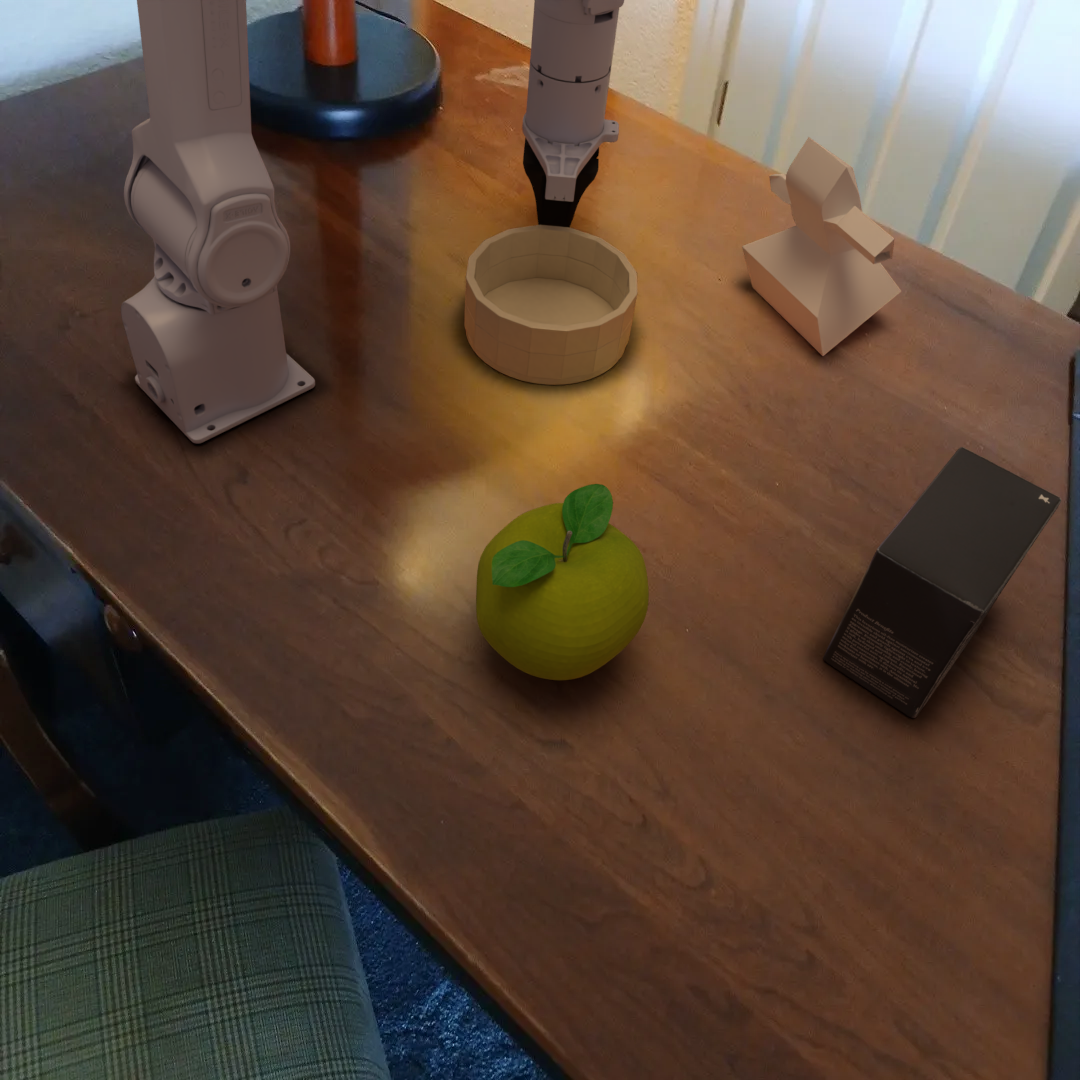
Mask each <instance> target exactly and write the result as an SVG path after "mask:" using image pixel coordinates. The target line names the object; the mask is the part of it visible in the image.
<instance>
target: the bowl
mask: <svg viewBox="0 0 1080 1080" xmlns="http://www.w3.org/2000/svg"><path fill="white" fill-rule="evenodd" d="M464 293H465V294H464V301H465V302H464V322H463V323H464V324H463V325H464V330H465V331H464V332H465V336H466V339H467V341H468V344H469V345H470V347H471V349H472V350H473V352H474V353H475V354H476V355H477V356H478V358H479V359H481V360H482V361H483V362H484V363H485V364H486V365H488V366H489V367H490V368H491V369H494V370H496V371H497V372H499V373H501V374H503V375H505V376H508V377H510V378H512V379H516V380H519V381H521V382H526V383H531V384H538V385H548V386H549V385H550V386H562V385H563V386H564V385H571V384H577V383H581V382H585V381H589V380H591V379H595V378H597V377H599V376H601V375H603V374H604V373H606V372H607V371H609V370H610V369H612V368H613V367H614V366H615V365H616V364H617V363H618V362H619V360H620V359H621V358H622V357H623V355H624V353H625V351H626V349H627V345H628V344H629V341H630V336H631V331H632V326H633V320H634V315H635V311H636V310H635V309H636V305H637V304H636V303H637V298H638V273H637V271H636V269H635V268H634V266H633V264H632V263H631V262H630V260H629V258H628V257H627V256H626V254H625V253H624V252H622V251H621V250H620V249H618V248H617V247H616V246H614V245H613V244H611V243H610V242H608V241H606V240H605V239H604V238H602V237H600V236H597V235H595V234H592V233H588V232H585V231H583V230H580V229H577V228H574V227H571V226H570V227H559V226H549V225H538V224H534V225H528V226H520V227H513V228H508V229H505V230H503V231H501V232H499V233H496V234H495V235H492V236H490V237H488V238H485V239H484V240H483V241H482V242H481V243H480V244H479V245H478V246H477V247H476V248H475V250H474V251H473V252H472V253H471V254H470V255H469V257H468V260H467V266H466V274H465V289H464Z"/></svg>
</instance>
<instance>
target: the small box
mask: <svg viewBox="0 0 1080 1080" xmlns="http://www.w3.org/2000/svg"><path fill="white" fill-rule="evenodd" d="M1061 503H1062V498H1061V497H1060V496H1059V495H1057V494H1055V493H1052V492H1050V491H1048V489H1045V488H1043V487H1041V486H1039V485H1036V484H1035V483H1033V482H1031V481H1029V480H1027V479H1026V478H1024V477H1022V476H1020V475H1018V474H1016V473H1014V472H1012V471H1010V470H1008V469H1006V468H1005V467H1002V466H1000V465H998V464H996V463H995V462H993V461H991V460H989V459H987V458H986V457H983V456H982V455H979V454H977V453H975V452H974V451H972V450H970V449H968V448H966V447H964V446H960V447H959V448H958V449H956V451H955V452H954V453H953V454H952V456H951V457H950V458H949V460H947V462H946V463H945V465H944V466H943V467H942V468H941V470H940V471H939V472H938V473H937V475H936V476H935V477H934V478H933V479H932V481H931V482H930V483H929V484H928V486H927V487H926V488H925V490H924V491H923V492H922V493H921V495H920V496H919V497H918V498H917V499H916V501H915V502H914V503H913V504H912V506H911V507H910V508H909V509H908V510H907V512H906V513H905V514H904V515H903V516H902V518H901V519H900V520H899V521H898V523H897V524H896V525H895V526H894V527H893V529H892V530H891V531H890V532H889V533H888V535H886V536H885V538H884V539H883V541H882V542H881V543H880V545H878V547H877V548H876V550H875V552H874V554H873V556H872V558H871V560H870V562H869V564H868V566H867V567H866V569H865V571H864V574H863V575H862V577H861V579H860V581H859V583H858V585H857V588H856V589H855V592H854V594H853V596H852V598H851V600H850V602H849V603H848V605H847V608H846V609H845V611H844V614H843V615H842V618H841V620H840V621H839V623H838V624H837V625H838V626H837V628H836V630H835V631H834V634H833V636H832V638H831V640H830V642H829V644H828V646H827V648H826V651H825V652H824V655H823V658H822V660H823V661H824V662H825V663H827V664H828V665H830V666H832V667H833V668H834V669H836V670H837V671H839V672H840V673H842V674H843V675H845V676H846V677H848V678H849V679H851V680H852V681H854V682H855V683H857V684H858V685H860V686H862V687H863V688H865V689H866V690H867V691H870V693H873V694H874V695H875V696H877V697H878V698H880V699H881V700H883V701H884V702H886V703H887V704H889V705H890V706H892V707H893V708H895V709H896V710H898V711H899V712H901V713H902V714H905V716H907V717H909V718H911V719H915V718H917V717H918V716H919V714H920V713H921V712H922V710H923V708H924V707H925V706H926V705H927V703H928V701H929V700H930V699H931V697H932V696H933V694H934V693H935V691H936V690H937V688H938V687H939V686H940V684H941V683H942V682H943V681H944V679H945V677H946V676H947V674H948V672H949V671H950V670H951V669H952V667H953V665H954V664H955V663H956V662H957V660H958V658H959V657H960V656H961V654H962V653H963V652H964V651H965V649H966V647H967V646H968V644H970V642H971V641H972V638H973V637H974V636H975V635H976V634H977V632H978V630H979V627H980V626H981V625H982V624H983V622H984V620H985V618H986V617H987V616H988V614H989V612H990V611H991V610H992V608H993V606H994V605H995V603H996V602H997V600H998V598H999V597H1000V595H1001V594H1002V592H1003V590H1004V589H1005V587H1006V586H1007V584H1008V583H1009V582H1010V580H1011V578H1012V577H1013V576H1014V574H1015V573H1016V572H1017V569H1018V568H1019V566H1020V565H1021V563H1022V561H1023V560H1024V558H1025V557H1026V556H1027V554H1028V552H1029V551H1030V549H1031V548H1032V547H1033V545H1034V543H1035V542H1036V541H1037V539H1038V537H1039V536H1040V534H1041V533H1042V531H1043V530H1044V529H1045V527H1046V525H1048V523H1049V522H1050V520H1051V519H1052V517H1053V516H1054V514H1055V512H1056V511H1057V509H1059V507H1060V504H1061Z"/></svg>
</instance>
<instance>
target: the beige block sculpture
mask: <svg viewBox="0 0 1080 1080" xmlns="http://www.w3.org/2000/svg"><path fill="white" fill-rule="evenodd" d="M768 179H769V185H770V192H771V193H772V194H774V195H775V196H776V197H777V198H778V199H779V200H781V201H782V203H785V204H787V205H789V206H790V211H791V216H792V219H793V221H794V223H795V225H794V226H791V227H789V228H786V229H783V230H781V231H778V232H774V233H773V234H770V235H768V236H765V237H762V238H759V239H757V240H754V241H752V242H749V243H746V244H744V245H741V249H742V252H743V253H742V254H743V257H744V260H745V264H746V268H747V272H748V275H749V279H750V283H751V287H752V289H753V290H754V291H756V293H758V294H759V296H761V298H762V299H764V300H765V302H767V303H768V304H769V305H770V306H771V307H772V308H773V309H774V311H776V312H777V313H778V314H779V315H780V316H781V317H782V318H783V319H784V320H785V321H786V322H787V323H788V324H789V325H790V326H791V327H792V328H793V329H794V330H795V331H796V332H797V333H798V334H799V335H800V336H802V338H803V339H805V341H807V343H808V344H809V345H811V346H812V347H813V348H814V349H815V350H816V351H817V352H818V353H819V354H820V355H821V356H822V357H824V356H825V355H826V354H828V353H829V352H830V351H831V350H832V349H834V348H835V347H836V346H837V345H839V344H840V343H841V342H843V340H844V339H846V338H847V337H848V336H850V335H851V334H852V333H853V332H855V330H857V329H858V328H859V327H860V326H862V325H863V324H864V323H865V322H866V321H867V320H869V319H870V318H871V317H872V316H874V315H875V314H876V313H877V312H878V311H880V310H881V309H882V308H883V307H885V306H886V305H887V304H888V303H889V302H890V301H892V300H893V299H894V298H896V297H897V296H898V295H900V293H902V290H901V288H900V287H899V285H898V284H897V283H896V282H895V280H894V279H893V278H892V276H891V275H890V274H889V272H888V271H887V269H886V268H885V267H884V265H883V264H882V263H884V262H886V261H889V260H890V261H891V260H893V256H894V255H893V253H894V247H895V238H894V237H893V236H892V235H891V234H890V233H889V232H888V231H886V230H885V229H883V228H882V227H881V226H880V225H879V224H878V223H877V222H875V221H874V220H873V219H872V218H871V217H869V216H868V215H867V214H865V213H864V212H863V207H862V204H861V203H862V201H861V196H860V195H861V194H860V192H859V188H858V183H857V179H856V174H855V170H854V167H853V166H852V165H850V164H848V163H847V162H846V161H844V160H843V159H842V158H840V157H839V156H837V155H835V154H834V153H833V152H831V151H830V150H829V149H827V148H825V147H824V146H822V145H821V144H820V143H818V142H817V141H816V140H814V139H812V138H811V137H810V136H807V139H806V140H805V142H804V144H803V145H802V146H801V148H800V149H799V151H798V152H797V154H796V156H795V157H794V159H793V160H792V162H791V163H790V165H789V166H788V169H787V171H786V173H774V174H769V175H768Z"/></svg>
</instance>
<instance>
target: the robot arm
mask: <svg viewBox="0 0 1080 1080" xmlns="http://www.w3.org/2000/svg"><path fill="white" fill-rule="evenodd" d="M533 2H534V4H533V17H532V28H531V29H532V30H531V42H530V43H531V44H530V58H529V69H528V82H527V94H526V95H527V96H526V109H525V113H524V114H523V117H522V126H521V128H522V129H521V130H522V133H523V135H524V144H523V145H524V147H523V157H522V166H523V170H524V173H525V174H526V177H527V178H528V181H529V183H530V185H531V188H532V191H533V195H534V198H535V207H536V209H535V210H536V219H537V225H549V226H559V227H570V228H571V225H572V224H573V221H574V217H575V214H576V211H577V208H578V206H579V203H580V201H581V199H582V197H583V195H584V193H585V191H586V190H587V189H588V187H589V186H590V185H591V184H592V182H593V181H594V180H595V179H596V177H597V175H598V173H599V168H600V167H599V165H600V163H599V162H600V161H599V160H600V159H599V158H598V157H599V156H600V146H601V145H602V144H604V143H616V142H618V140H619V135H620V124H619V122H618V121H617V120H613V119H607V118H606V110H607V103H608V94H609V88H610V81H611V72H612V65H613V58H614V50H615V44H616V35H617V29H618V21H619V14H620V8H622V7H623V6H624V3H625V0H534V1H533ZM136 7H137V14H138V23H139V24H138V25H139V32H140V41H141V42H140V43H141V49H142V59H143V66H144V67H143V68H144V75H145V76H144V77H145V85H146V94H147V95H146V96H147V101H148V102H147V103H148V111H149V118H147V119H145V120H144V121H142V122H140V123H139V124H137V125H136V126H135V127H133V128H132V130H131V139H132V151H133V153H132V161H131V163H130V164H131V165H130V167H129V170H128V172H127V175H126V178H125V183H124V185H123V186H124V187H123V199H124V205H125V208H126V211H127V213H128V215H129V216H130V219H131V220H132V221H133V222H134V223H135V225H137V226H138V227H139V228H140V229H141V230H142V231H143V232H144V233H146V234H147V235H148V236H149V237H150V238H151V239H152V243H153V246H154V253H153V273H154V276H153V277H152V278H151V280H150V281H149V282H148V283H147V284H146V285H145V286H144V287H143V288H141V290H139V291H138V292H137V293H135V294H134V295H132V296H131V297H129V298H127V299H126V300H124V301H123V302H122V303H121V304H120V316H121V320H122V325H123V329H124V333H125V335H126V339H127V342H128V346H129V349H130V354H131V356H132V360H133V364H134V368H135V371H136V375H135V376H134V380H135V384H136V385H137V386H138V387H139V388H140V389H141V390H142V391H143V392H144V393H145V394H146V395H147V396H148V397H149V398H150V399H151V400H152V402H153V403H154V404H155V405H156V406H157V407H158V408H159V409H160V410H161V411H162V412H163V413H164V414H165V415H166V416H167V417H168V418H169V419H170V421H172V422H173V424H174V425H175V426H176V427H177V428H178V429H179V430H180V431H181V432H182V433H183V434H184V436H185V437H187V439H189V441H191V442H192V443H193V444H202V443H204V442H206V441H208V440H210V439H212V438H215V437H217V436H219V435H220V434H222V433H224V432H227V431H229V430H231V429H232V428H235V427H237V426H239V425H241V424H243V423H245V422H247V421H249V420H252V419H253V418H256V417H257V416H259V415H261V414H264V413H265V412H267V411H269V410H272V409H274V408H275V407H277V406H279V405H282V404H283V403H286V402H287V401H289V400H291V399H293V398H295V397H298V396H299V395H301V394H303V393H306V392H307V391H309V390H311V389H312V390H313V389H314V388H315V386H316V380H315V378H314V377H313V376H312V375H311V374H310V373H309V372H308V371H307V370H305V369H304V367H302V366H301V365H300V364H299V363H298V362H297V361H295V360H294V358H293V357H291V356H290V355H289V354H288V353H287V349H286V342H285V341H286V340H285V336H284V335H285V334H284V327H283V321H282V313H281V305H280V297H279V290H278V284H279V282H280V281H281V280H282V278H283V276H284V274H285V273H286V270H287V269H288V265H289V262H290V256H291V241H290V237H289V234H288V231H287V229H286V227H285V226H284V224H283V223H282V221H281V220H280V218H279V216H278V214H277V210H276V202H275V187H274V184H273V181H272V180H271V177H270V174H269V172H268V170H267V167H266V165H265V162H264V160H263V158H262V156H261V153H260V151H259V149H258V147H257V145H256V141H255V140H254V136H253V134H252V113H251V91H250V90H251V88H250V66H249V65H250V64H249V42H248V40H249V39H248V17H247V0H136ZM605 118H606V119H605Z"/></svg>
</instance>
